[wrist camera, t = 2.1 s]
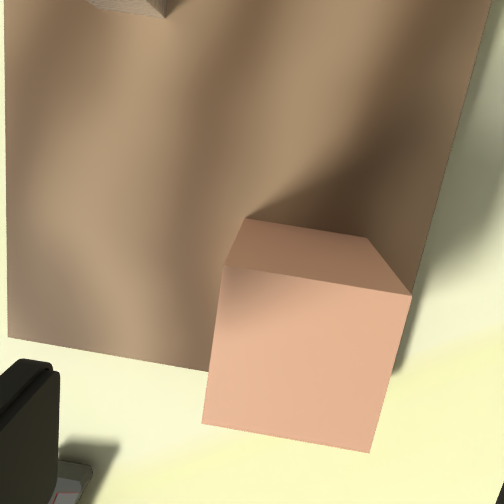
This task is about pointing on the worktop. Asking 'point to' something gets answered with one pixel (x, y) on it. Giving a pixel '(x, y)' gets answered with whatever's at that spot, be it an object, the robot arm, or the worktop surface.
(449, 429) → the worktop surface
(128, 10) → the post
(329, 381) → the salmon pink block
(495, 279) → the worktop surface
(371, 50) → the board
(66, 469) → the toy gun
